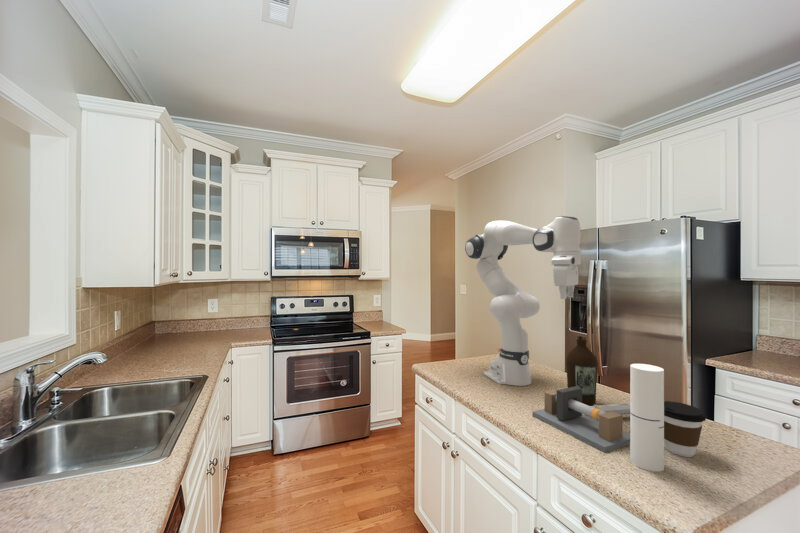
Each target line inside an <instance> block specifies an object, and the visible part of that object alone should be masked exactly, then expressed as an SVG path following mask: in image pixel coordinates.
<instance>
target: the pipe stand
mask: <svg viewBox="0 0 800 533" xmlns="http://www.w3.org/2000/svg"><path fill="white" fill-rule="evenodd" d="M557 390H558V389H554V390H548V391H545V392H544V408H542V409H538V410H534V411H533V410H532V417H534V418H536V419H538V420H540V421H541V422H544V423H546V424H548V425H550V426H551V427H553V428H555V429H557V430H560V431H562V432H563V433H566V434H567V435H569V436H571V437H573V438H575V439H577V440H579V441H581V442H583V443H585V444H586V445H589V446H591V447H593V448H595V449H597V450H598V451H601V452H602V453H608V452H611V451H614V450H617V449H620V448H623V447H626V446H630V433H627V432H625V431H623V423H624V422H623V416H624V415H621V414H618V413H616V412H613V411H612V412H608V413H606V412H604V411H602V410H600V409H597V408H593V407H591V406H588V405H586V404H583V403H581V402H578V401H576V400H573V399H568V408H570V409H573V410H575V411H577V412H580V413H582V416H579V417H575V418H571V419H567V420H563V421H562V420H560V419H558V418H557ZM586 415H587V416H586ZM588 416H589V417H588Z"/></svg>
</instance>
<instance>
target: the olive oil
mask: <svg viewBox="0 0 800 533" xmlns="http://www.w3.org/2000/svg"><path fill="white" fill-rule="evenodd" d="M565 360H566V362H565V363H566V365H565V367H566V382H567V388H570V387H575V386H576V387H579V388H582V403H583V404H586V405H588V406H593V405H597V402H596V400H597V382H598V381H597V379H598V378H597V377H598V360H597V357H596V355H595V353H593V352H592V350H591V349H590V348H589V347H588V346H587V336H586V335H580V334H578V335H577V336H576V345H575V346H574V347H573V348H572V349H571V350H570V351H569V352H568V353H567V355H566V359H565Z"/></svg>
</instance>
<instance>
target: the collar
mask: <svg viewBox="0 0 800 533" xmlns="http://www.w3.org/2000/svg"><path fill="white" fill-rule="evenodd" d="M556 390H557V418H558V419H560V420H562V421H563V420H567V419H571V418H575V417H579V416H582V413H580V412H577V411H575V410H573V409H570V408H568V399H573V400H576V401H578V402H581V403H582V388H579V387H576V386H575V387H570V388H568V387H565V388H560V389H556Z"/></svg>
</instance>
